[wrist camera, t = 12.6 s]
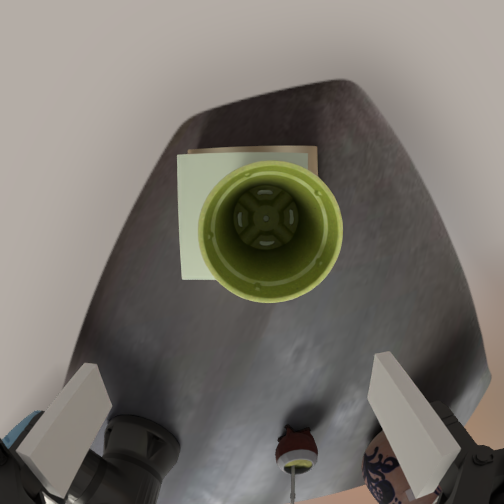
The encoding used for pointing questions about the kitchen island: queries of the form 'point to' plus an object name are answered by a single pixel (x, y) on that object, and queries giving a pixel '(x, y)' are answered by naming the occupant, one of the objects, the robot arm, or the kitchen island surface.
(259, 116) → the kitchen island surface
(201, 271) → the upper block
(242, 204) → the plant pot
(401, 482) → the ceramic pitcher
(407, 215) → the kitchen island surface
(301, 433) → the mate gourd
